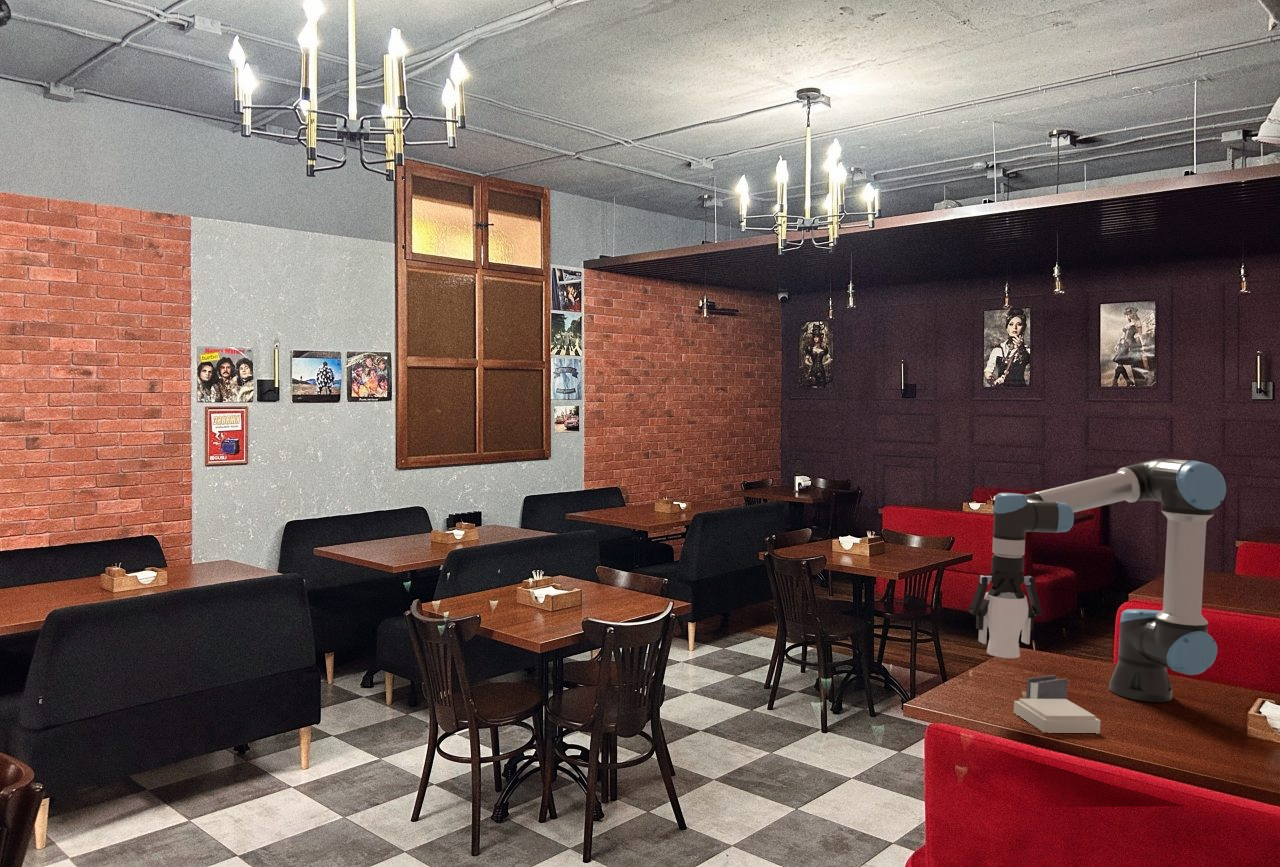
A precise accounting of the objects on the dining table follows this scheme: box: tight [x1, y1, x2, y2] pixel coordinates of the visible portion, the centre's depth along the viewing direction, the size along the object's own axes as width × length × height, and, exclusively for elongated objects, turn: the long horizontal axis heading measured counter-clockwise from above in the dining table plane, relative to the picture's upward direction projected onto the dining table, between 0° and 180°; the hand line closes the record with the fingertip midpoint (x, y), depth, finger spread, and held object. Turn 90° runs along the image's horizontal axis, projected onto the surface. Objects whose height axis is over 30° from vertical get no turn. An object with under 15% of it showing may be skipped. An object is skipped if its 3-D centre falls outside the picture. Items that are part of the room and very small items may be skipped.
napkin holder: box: [1025, 674, 1068, 699], centre depth 239 cm, size 10×4×7 cm, turn 116°
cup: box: [983, 591, 1029, 659], centre depth 232 cm, size 11×11×15 cm
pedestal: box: [1013, 698, 1102, 735], centre depth 225 cm, size 14×14×4 cm
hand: (1003, 642), depth 232 cm, fingers closed on cup, 11 cm apart
